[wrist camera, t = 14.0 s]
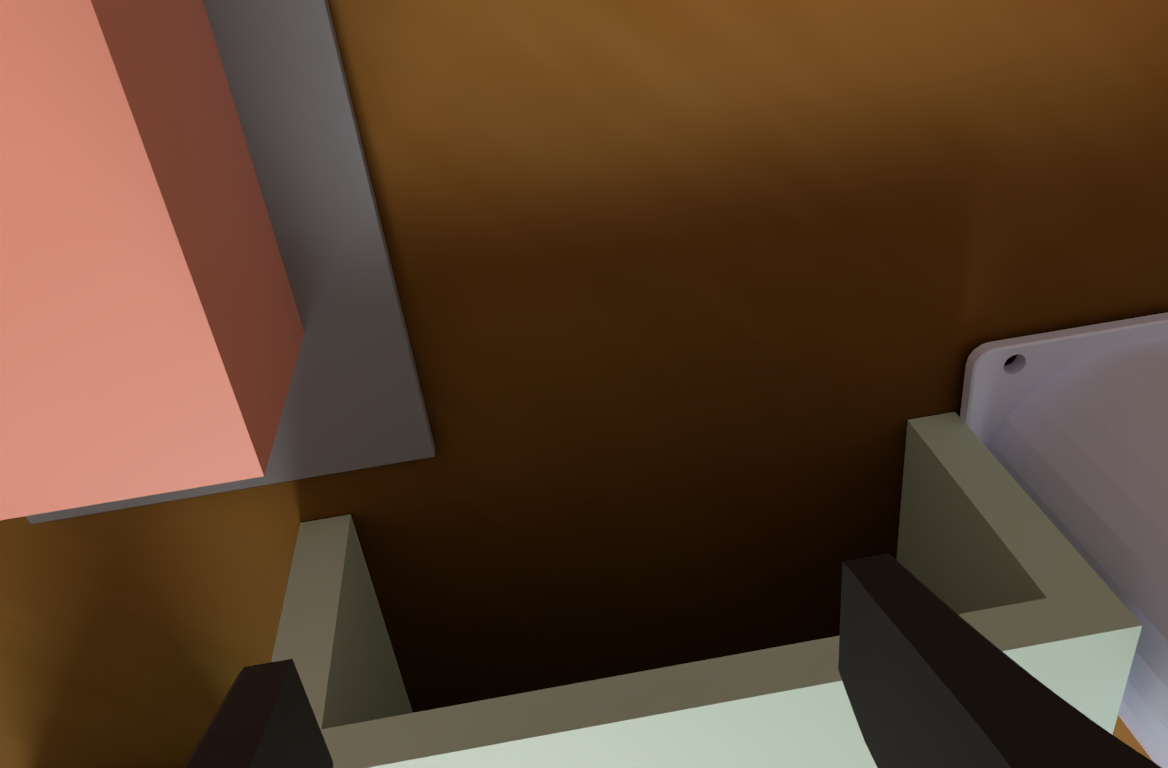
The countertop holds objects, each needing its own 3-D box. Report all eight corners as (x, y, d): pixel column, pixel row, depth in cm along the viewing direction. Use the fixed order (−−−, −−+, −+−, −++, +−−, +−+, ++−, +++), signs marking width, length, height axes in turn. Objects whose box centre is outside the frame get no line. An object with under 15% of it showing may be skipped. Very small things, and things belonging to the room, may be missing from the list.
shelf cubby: (955, 411, 23) (1142, 625, 17) (926, 666, 28) (1065, 906, 21) (300, 523, 22) (243, 790, 16) (385, 765, 27) (367, 1045, 21)
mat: (163, -682, 12) (155, -697, 12) (434, 446, 21) (434, 456, 21) (-564, -606, 12) (-594, -619, 11) (36, 513, 21) (30, 524, 21)
